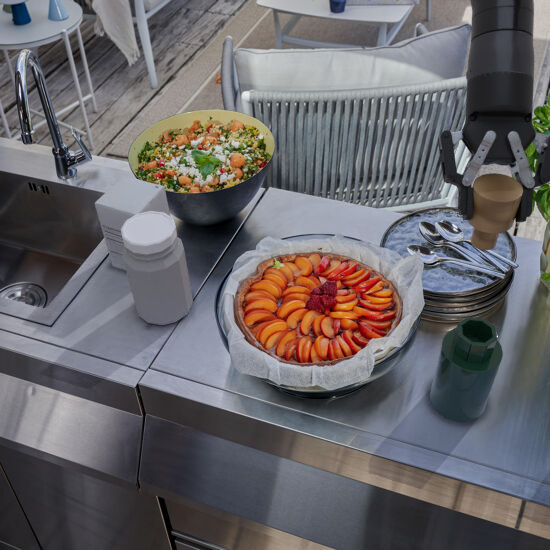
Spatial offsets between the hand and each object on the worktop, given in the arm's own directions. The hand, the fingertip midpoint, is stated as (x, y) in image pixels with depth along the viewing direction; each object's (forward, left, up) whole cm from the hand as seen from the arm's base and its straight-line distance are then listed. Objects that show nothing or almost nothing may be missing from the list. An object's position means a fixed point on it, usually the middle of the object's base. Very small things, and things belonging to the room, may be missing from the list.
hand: (494, 220), depth 76 cm
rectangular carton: (+54, -22, -31) cm, 67 cm away
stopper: (0, -2, -5) cm, 5 cm away
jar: (+47, -10, -31) cm, 58 cm away
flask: (-1, +4, -31) cm, 31 cm away
